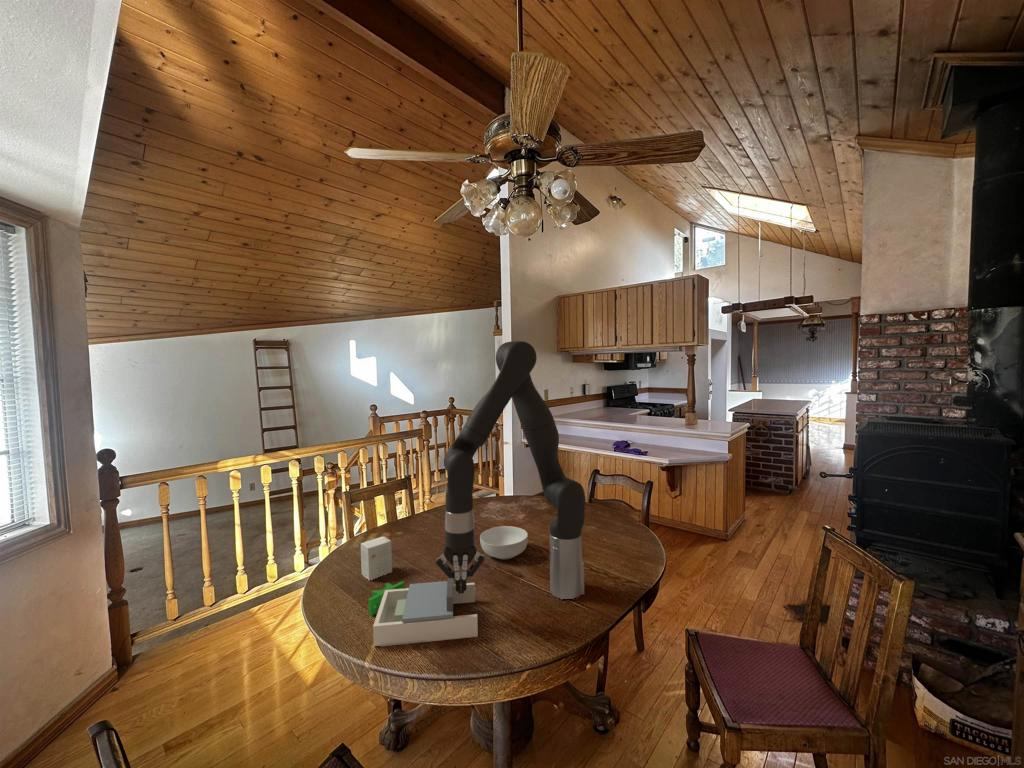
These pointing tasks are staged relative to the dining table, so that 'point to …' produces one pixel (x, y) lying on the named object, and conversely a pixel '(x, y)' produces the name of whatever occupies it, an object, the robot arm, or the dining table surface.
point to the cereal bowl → (504, 541)
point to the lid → (429, 601)
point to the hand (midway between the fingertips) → (461, 591)
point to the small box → (376, 558)
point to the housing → (422, 622)
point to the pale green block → (399, 610)
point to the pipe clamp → (378, 595)
